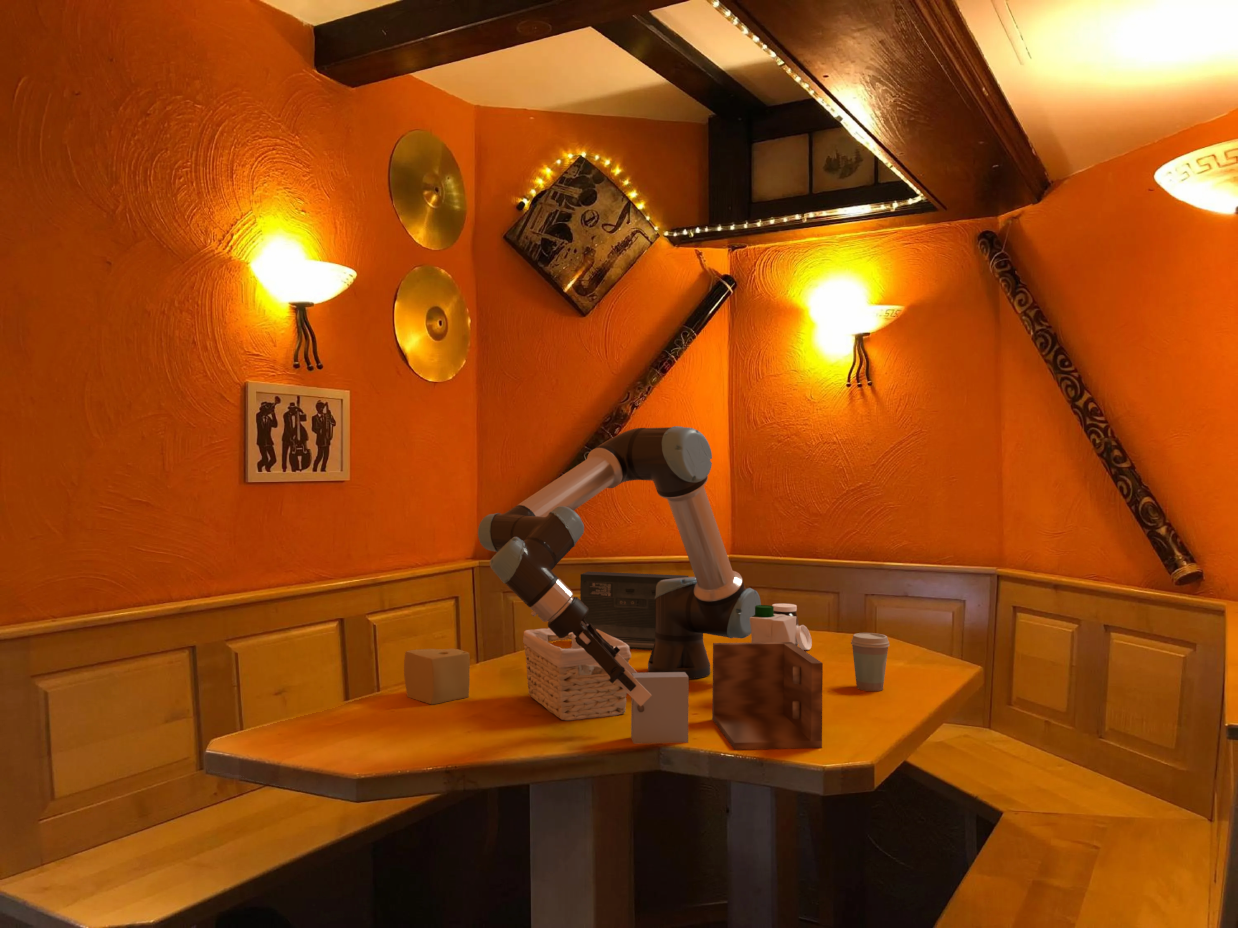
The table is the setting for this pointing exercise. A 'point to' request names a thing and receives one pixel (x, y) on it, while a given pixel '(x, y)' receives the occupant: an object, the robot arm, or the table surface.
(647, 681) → the door
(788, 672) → the cabinet
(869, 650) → the coffee cup
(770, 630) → the milk carton
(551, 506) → the robot arm
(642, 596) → the cassette player
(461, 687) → the beige cube with hole
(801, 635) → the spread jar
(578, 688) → the storage basket
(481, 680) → the table surface
